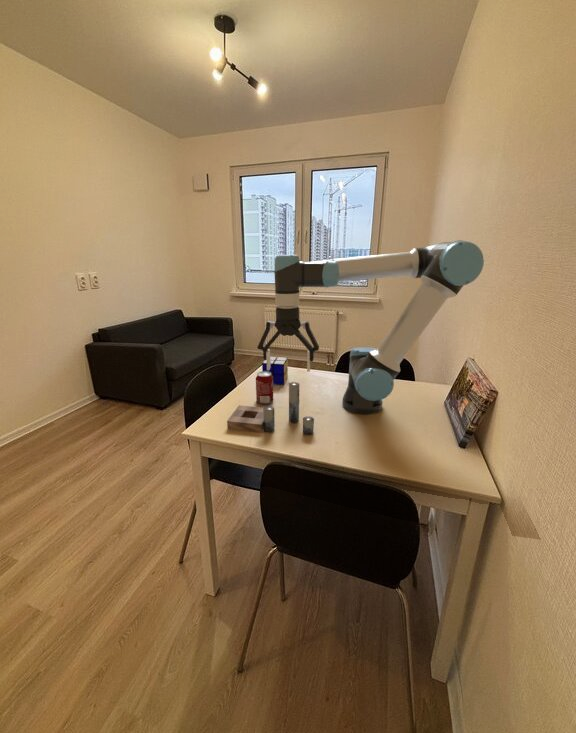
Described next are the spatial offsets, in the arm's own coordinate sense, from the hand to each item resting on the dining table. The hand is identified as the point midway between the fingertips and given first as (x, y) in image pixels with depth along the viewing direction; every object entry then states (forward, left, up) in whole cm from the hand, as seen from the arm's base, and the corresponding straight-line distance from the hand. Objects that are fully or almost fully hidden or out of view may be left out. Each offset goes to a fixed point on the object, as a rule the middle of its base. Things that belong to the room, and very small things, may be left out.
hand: (288, 369), depth 109 cm
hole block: (+13, +4, -19) cm, 23 cm away
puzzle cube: (+13, -36, -19) cm, 42 cm away
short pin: (-8, +7, -19) cm, 22 cm away
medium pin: (+5, +8, -19) cm, 21 cm away
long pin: (-2, 0, -19) cm, 19 cm away
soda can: (+12, -13, -19) cm, 26 cm away
